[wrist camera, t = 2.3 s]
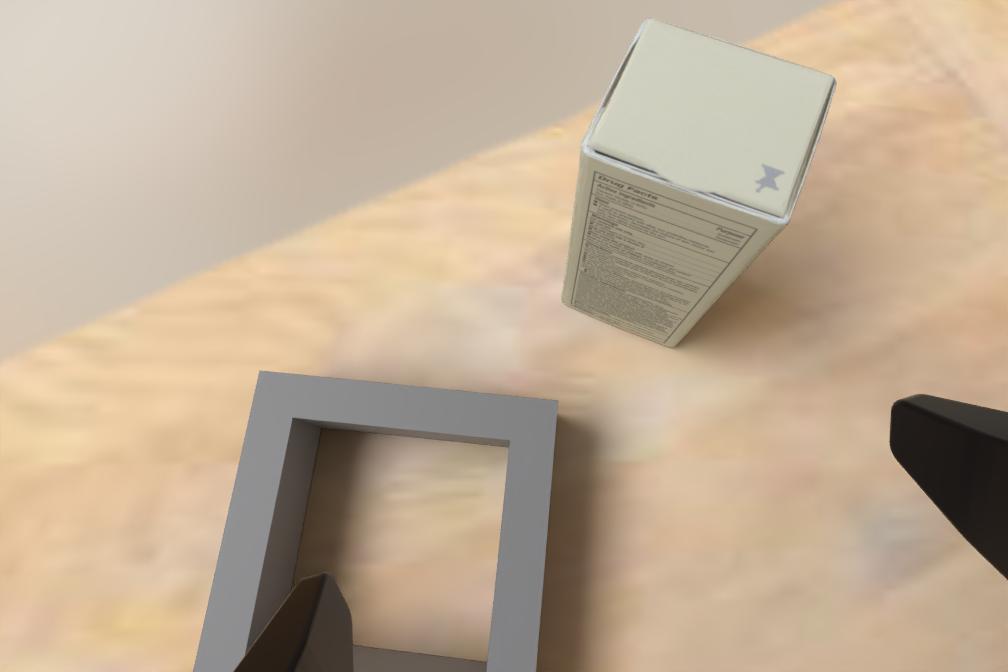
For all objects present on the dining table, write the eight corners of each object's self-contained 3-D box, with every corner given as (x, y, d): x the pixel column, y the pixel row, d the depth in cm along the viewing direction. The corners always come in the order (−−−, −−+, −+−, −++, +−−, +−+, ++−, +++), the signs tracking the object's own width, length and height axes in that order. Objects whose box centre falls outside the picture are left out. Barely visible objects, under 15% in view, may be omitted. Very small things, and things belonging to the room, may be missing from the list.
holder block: (553, 412, 23) (558, 400, 20) (528, 716, 20) (529, 753, 17) (292, 386, 23) (259, 370, 20) (232, 677, 21) (185, 707, 18)
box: (709, 261, 24) (856, 78, 14) (672, 353, 23) (801, 232, 13) (592, 215, 25) (645, 6, 14) (551, 302, 24) (577, 147, 13)
